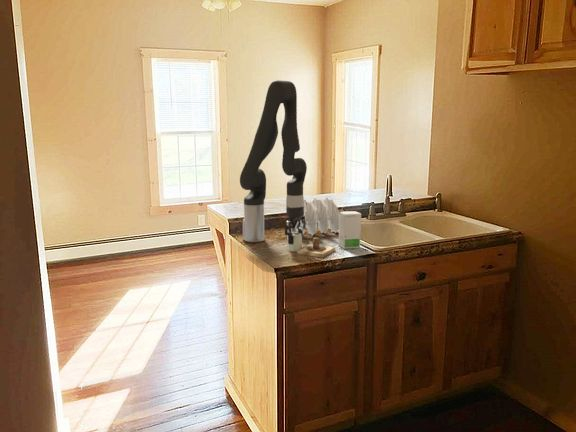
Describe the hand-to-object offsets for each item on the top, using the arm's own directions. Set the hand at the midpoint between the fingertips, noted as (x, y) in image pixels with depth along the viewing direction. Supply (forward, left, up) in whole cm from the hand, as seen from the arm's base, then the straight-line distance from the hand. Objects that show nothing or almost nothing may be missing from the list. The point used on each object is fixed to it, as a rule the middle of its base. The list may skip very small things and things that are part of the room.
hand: (295, 241), depth 219 cm
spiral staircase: (-5, +29, -4) cm, 30 cm away
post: (+9, +1, -4) cm, 10 cm away
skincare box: (+18, +16, -4) cm, 25 cm away
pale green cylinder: (-1, 0, -4) cm, 4 cm away
